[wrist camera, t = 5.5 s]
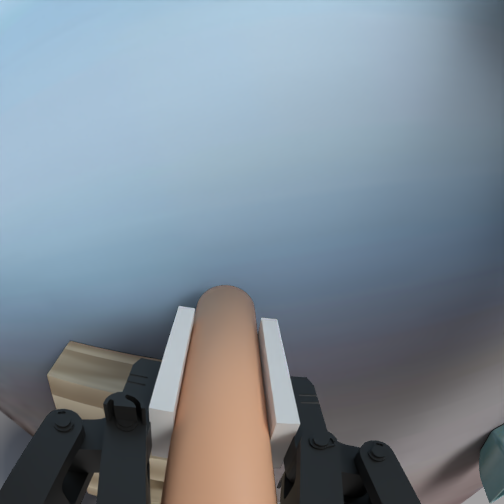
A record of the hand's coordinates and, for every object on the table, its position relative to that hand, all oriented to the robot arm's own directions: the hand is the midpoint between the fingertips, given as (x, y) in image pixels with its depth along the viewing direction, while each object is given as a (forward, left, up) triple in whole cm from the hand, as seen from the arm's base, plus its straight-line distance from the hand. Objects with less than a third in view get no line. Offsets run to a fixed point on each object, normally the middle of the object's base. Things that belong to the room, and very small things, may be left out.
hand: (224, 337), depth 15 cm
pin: (0, 0, -3) cm, 3 cm away
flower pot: (+18, +40, -4) cm, 44 cm away
